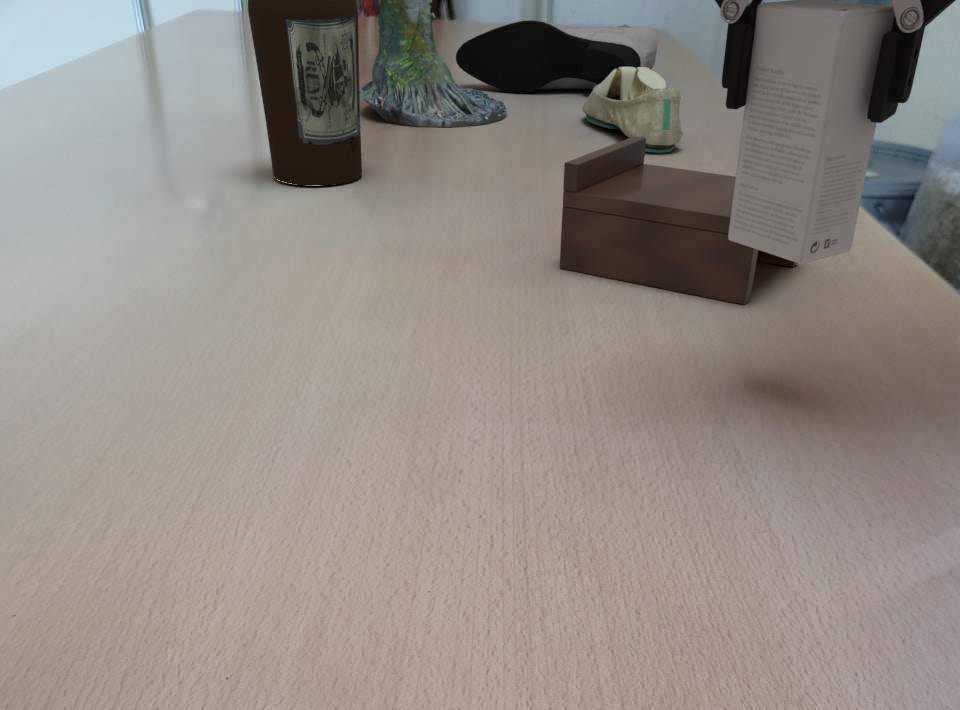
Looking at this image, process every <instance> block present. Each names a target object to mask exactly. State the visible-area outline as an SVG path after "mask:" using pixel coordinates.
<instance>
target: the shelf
mask: <svg viewBox="0 0 960 710" xmlns="http://www.w3.org/2000/svg"><path fill="white" fill-rule="evenodd" d="M645 145H646V138H642V137H635V136H634V137H631V138H626V139H623V140H621V141H618V142H615V143H613V144H610V145H608V146H605V147H603V148H600V149H596V150H595V151H591V152H589V153H587V154H584V155H582V156H579V157H577V158H574V159H571V160H568V161H566V162H564V166H563V167H564V169H563V184H562V185H563V187H562V188H563V189H562V190H563V191H562V210H561V211H562V212H561V229H560V249H559V269H562V270H568V271H573V272H578V273H583V274H587V275H588V274H589V275H593V276H598V277H601V278H608V279H613V280H618V281H622V282H627V283H633V284H638V285H642V286H648V287H653V288H658V289H662V290H667V291H668V290H669V291H674V292H677V293H683V294H688V295H693V296H698V297H702V298H703V297H704V298H709V299H714V300H717V301H722V302H729V303H734V304H739V305H746V304H748V302H750V301H751V297H752V290H753V285H754V279H755V274H756V273H755V272H756V267H757V262H758V263H759V262H760V263H765V264H769V263H772V264H771V265H775V264H777V265H776V266H781V265H784V266H783V267H786V266H790V267H789V268H792V267H793V268H795V267H796V266H797V265H798V264H799V263H796V262H793V261H790V260H787V259H785V258H782V257H779V256H776V255H773V254H769V253H767V252H764V251H761V250H758V249H755V248H752V247H748V246H745V245H742V244H739V243H736V242H733V241H730V240H729V239H728V233H729V225H730V217H731V209H732V201H733V194H734V186H735V179H736V175H727V174H721V173H720V174H719V173H712V172H705V171H699V170H691V169H685V168H684V169H683V168H677V167H669V166H663V165H662V166H661V165H657V164H656V165H655V164H649V163H645V156H646V155H645V154H646V152H645ZM796 264H797V265H796ZM795 265H796V266H795ZM791 266H792V267H791ZM794 266H795V267H794Z"/></svg>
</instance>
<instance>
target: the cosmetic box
mask: <svg viewBox="0 0 960 710" xmlns="http://www.w3.org/2000/svg"><path fill="white" fill-rule="evenodd" d="M894 17H895V13H894V9H893V5H883V4H870V3H869V4H868V3H859V2H852V1H842V0H781V1H780V0H779V1H769V2H768V1H767V2H764V3H761V4H759V5H758V7H757V14H756V23H755V31H754V39H753V47H752V55H751V63H750V71H749V79H748V86H747V94H746V102H745V106H744V109H743V117H742V126H741V134H740V140H739V141H740V142H739V148H738V155H737V156H738V157H737V164H736V172H735V177H736V179H735V186H734V194H733V201H732V209H731V217H730V225H729V233H728V239H729V240H730V241H733V242H736V243H739V244H742V245H745V246H748V247H752V248H755V249H758V250H761V251H764V252H767V253H769V254H773V255H776V256H779V257H782V258H785V259H787V260H790V261H793V262H796V263H798V264H799V265H800V264H806V263H810V262H815V261H817V260H821V259H822V260H823V259H826V258H829V257H834V256H837V255H841V254H846V253H849V252H850V251H851V249H852V246H853V243H854V236H855V231H856V225H857V222H858V216H859V211H860V206H861V201H862V196H863V192H864V186H865V181H866V175H867V171H868V165H869V161H870V156H871V150H872V146H873V142H874V136H875V131H876V126H877V123H876V122H870V119H867V114H868V109H869V104H870V98H871V93H872V88H873V83H874V78H875V73H876V68H877V63H878V58H879V52H880V47H881V42H882V38H883V36H884V35H885V34H887V32H890V31H892V26H893V21H894Z"/></svg>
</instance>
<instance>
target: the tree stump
mask: <svg viewBox="0 0 960 710" xmlns="http://www.w3.org/2000/svg"><path fill="white" fill-rule="evenodd" d="M432 4H433V0H378V8H379V14H378V15H377V19H378V21H377V25H378V27H379V28H378V36H379V41H378V51H377V54H376V57H375V59H374V63H373V66H372V71H371V76H372V77H371V78H372V80H370V81H368V82H367V83H365V84H364V85H363V86H362V87H361V89H359V96H360V98H361V99H362V100H363V101H364V102H365V103H367V104H368V105H369V106H370V107H371V108H372V109H373V110H374V111H375V112H376V113H377V114H378V115H379V116H380V117H381V118H382V119H383V120H384V122H387V123H391V124H395V125H403V126H411V127H419V128H421V127H423V128H424V127H426V128H427V127H429V128H430V127H431V128H432V127H433V128H456V127H457V128H459V127H470V126H483V125H486V124H490V123H494V122H498V121H501V120H503V119H504V118H505V117H506V116H507V107H506V105H505V103H504V102H503V101H502V100H496V99H495V98H493V97H491V96H490V95H489V94H488V93H485V92H483V91H482V90H481V89H479V90H476V89H474V88H465V89H462V88H460V87H459V85H458V83H456V82H455V80H454V78H453V75H452V72H451V70H450V68H449V66H448V65H447V63H446V62H445V61H444V59H442V58H441V56H440V55H439V53H438V49H437V45H436V39H435V36H434V30H433V22H434V20H435V19H436V15H435V13H434V12H431V9H432Z"/></svg>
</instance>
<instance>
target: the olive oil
mask: <svg viewBox="0 0 960 710" xmlns="http://www.w3.org/2000/svg"><path fill="white" fill-rule="evenodd" d="M247 13H248V14H247V15H248V20H249V26H250V33H251V38H252V43H253V50H254V56H255V62H256V68H257V74H258V81H259V85H260V86H259V87H260V94H261V100H262V106H263V112H264V119H265V125H266V132H267V139H268V146H269V153H270V161H271V167H272V174H273V178H274V177H275V178H276V179H278V180H280V181H284V182H287V183H292V184H297V185H332V186H335V185H334V184H339V185H344V184H348V183H349V184H350V183H352V182H354V181H357V180H358V179H360V178H361V177H362V175H363V162H362V160H363V159H362V136H361V106H360V105H361V103H360V102H361V100H360V98H361V96H360V95H359V94H360V93H359V91H360V58H359V57H360V54H359V53H360V52H359V51H360V50H359V49H360V48H359V47H360V46H359V44H360V43H359V7H358V1H357V0H247ZM275 178H274V179H275ZM276 179H275V180H276ZM343 183H344V184H343Z"/></svg>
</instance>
